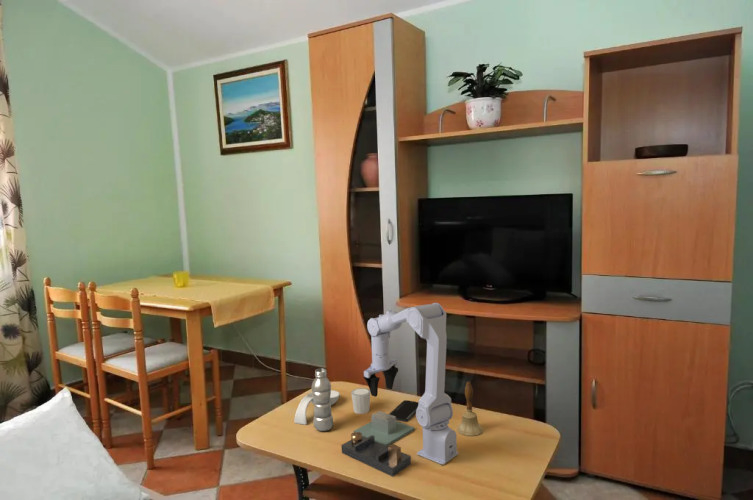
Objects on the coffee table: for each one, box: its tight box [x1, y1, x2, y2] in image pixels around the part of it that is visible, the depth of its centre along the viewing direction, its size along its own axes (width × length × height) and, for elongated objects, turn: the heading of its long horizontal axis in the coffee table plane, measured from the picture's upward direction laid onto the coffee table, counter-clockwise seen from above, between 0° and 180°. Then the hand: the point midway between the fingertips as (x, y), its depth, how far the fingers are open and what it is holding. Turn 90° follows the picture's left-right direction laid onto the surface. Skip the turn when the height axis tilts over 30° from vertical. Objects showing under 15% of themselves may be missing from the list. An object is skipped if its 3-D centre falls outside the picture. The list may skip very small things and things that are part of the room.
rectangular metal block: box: [370, 410, 397, 434], centre depth 160 cm, size 7×4×4 cm, turn 48°
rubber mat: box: [353, 420, 416, 447], centre depth 161 cm, size 14×14×1 cm
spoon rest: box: [293, 389, 341, 426], centre depth 179 cm, size 24×12×7 cm, turn 159°
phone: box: [389, 399, 419, 423], centre depth 175 cm, size 8×1×15 cm
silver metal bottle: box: [311, 368, 334, 432], centre depth 163 cm, size 6×7×20 cm
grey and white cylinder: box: [350, 388, 371, 415], centre depth 177 cm, size 7×7×7 cm
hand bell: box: [456, 381, 484, 437], centre depth 159 cm, size 8×8×16 cm
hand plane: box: [341, 431, 412, 478], centre depth 144 cm, size 20×8×6 cm, turn 48°
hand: (381, 392), depth 167 cm, fingers open, 7 cm apart
